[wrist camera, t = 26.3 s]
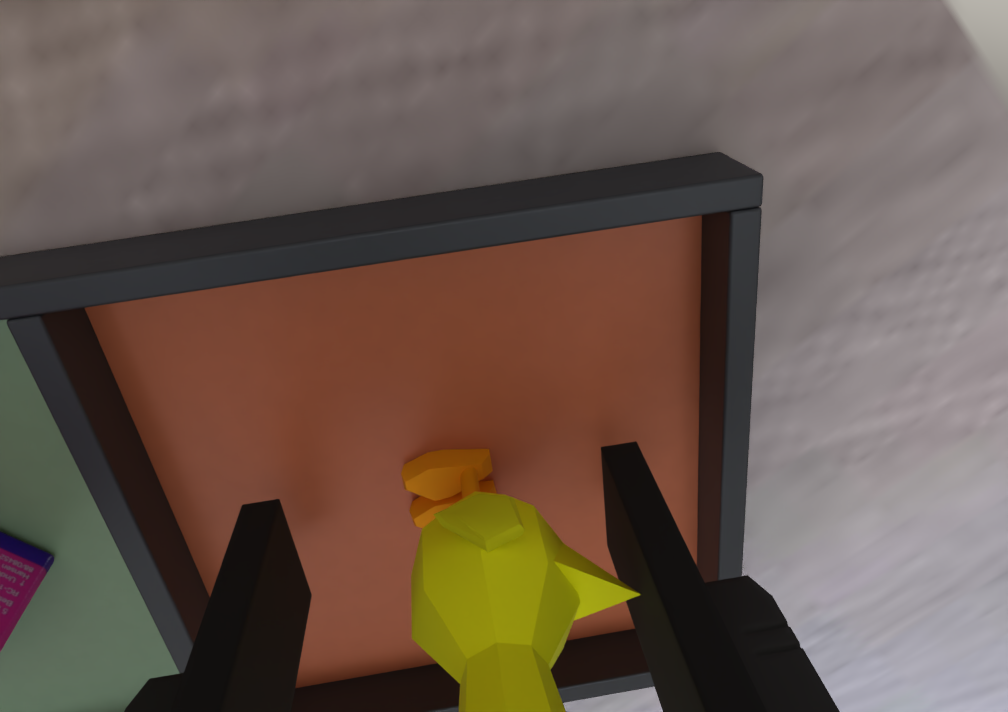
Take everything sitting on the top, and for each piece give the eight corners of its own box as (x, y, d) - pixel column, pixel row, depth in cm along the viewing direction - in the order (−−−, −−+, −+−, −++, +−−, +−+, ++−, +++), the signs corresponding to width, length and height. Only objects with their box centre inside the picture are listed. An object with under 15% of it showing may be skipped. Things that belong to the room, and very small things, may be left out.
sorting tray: (-233, 778, 19) (-300, 858, 17) (-661, 352, 13) (-831, 409, 11) (709, 612, 20) (737, 672, 18) (721, 151, 14) (765, 173, 12)
